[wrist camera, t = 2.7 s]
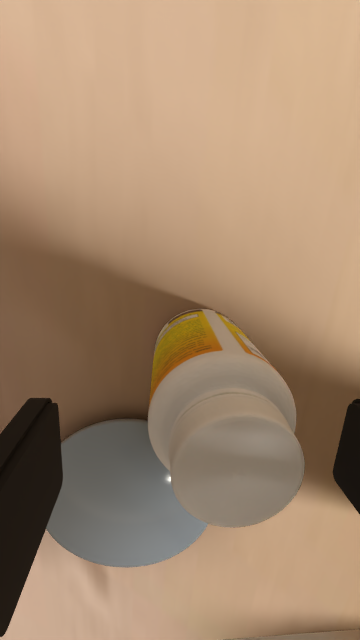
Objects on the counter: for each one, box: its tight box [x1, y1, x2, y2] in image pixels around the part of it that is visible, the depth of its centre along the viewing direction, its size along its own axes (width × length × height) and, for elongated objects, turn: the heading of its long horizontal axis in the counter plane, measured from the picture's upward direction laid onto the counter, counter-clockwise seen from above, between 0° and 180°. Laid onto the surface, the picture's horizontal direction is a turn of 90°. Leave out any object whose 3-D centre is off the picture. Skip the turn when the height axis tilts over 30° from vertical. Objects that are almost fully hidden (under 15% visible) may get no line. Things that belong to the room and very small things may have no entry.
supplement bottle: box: [148, 309, 305, 528], centre depth 13 cm, size 6×6×10 cm
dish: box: [46, 419, 208, 567], centre depth 20 cm, size 12×12×1 cm
